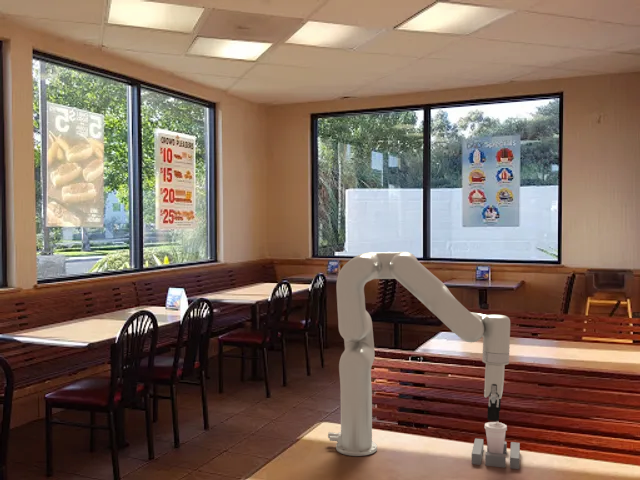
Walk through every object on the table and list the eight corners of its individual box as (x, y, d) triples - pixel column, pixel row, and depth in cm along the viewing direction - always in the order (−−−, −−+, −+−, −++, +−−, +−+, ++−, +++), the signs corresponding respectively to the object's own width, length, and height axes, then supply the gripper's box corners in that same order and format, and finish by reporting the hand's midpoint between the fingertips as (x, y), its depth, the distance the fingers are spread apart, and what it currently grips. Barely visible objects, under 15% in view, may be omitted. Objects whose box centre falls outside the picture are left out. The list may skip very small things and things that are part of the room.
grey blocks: (471, 463, 177) (471, 453, 177) (475, 448, 190) (475, 438, 190) (519, 469, 173) (519, 458, 173) (519, 452, 186) (519, 442, 186)
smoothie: (508, 462, 178) (508, 414, 178) (485, 461, 179) (485, 413, 179) (505, 454, 184) (505, 408, 184) (483, 453, 186) (483, 406, 185)
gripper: (484, 350, 190) (482, 405, 191) (480, 362, 174) (478, 422, 174) (509, 352, 188) (508, 408, 188) (508, 365, 171) (506, 426, 172)
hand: (494, 415), depth 181 cm, fingers open, 9 cm apart
